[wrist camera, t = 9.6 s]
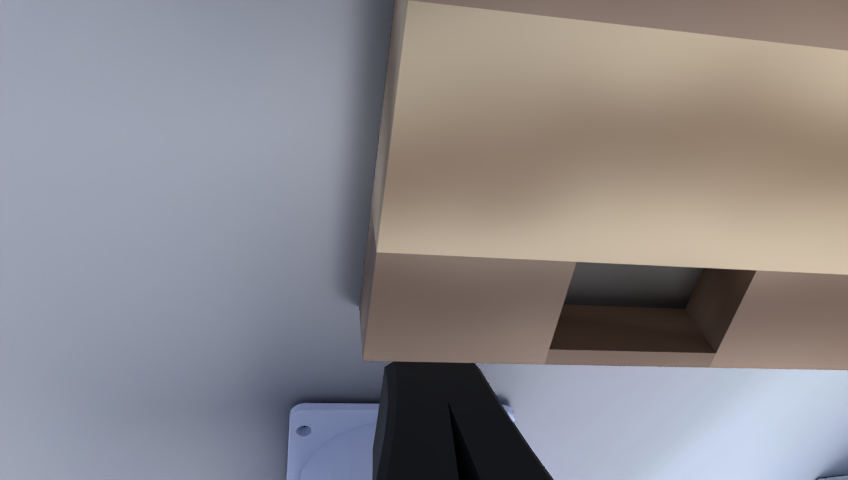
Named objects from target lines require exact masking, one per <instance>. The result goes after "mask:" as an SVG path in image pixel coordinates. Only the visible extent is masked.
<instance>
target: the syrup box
mask: <svg viewBox="0 0 848 480" xmlns="http://www.w3.org/2000/svg"><path fill="white" fill-rule="evenodd" d="M818 480H848V476H839V477H832V478H826V479H818Z"/></svg>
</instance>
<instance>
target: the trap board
mask: <svg viewBox="0 0 848 480" xmlns="http://www.w3.org/2000/svg"><path fill="white" fill-rule="evenodd" d="M359 311H360V325H361V339H362V353H363V361H399V362H452V363H500V364H553V365H605V366H658V367H711V368H763V369H816V370H848V0H395V3H394V11H393V20H392V29H391V37H390V46H389V55H388V63H387V72H386V81H385V90H384V98H383V107H382V116H381V124H380V133H379V142H378V151H377V159H376V168H375V177H374V185H373V194H372V203H371V211H370V220H369V229H368V238H367V246H366V255H365V264H364V272H363V281H362V290H361V298H360V307H359Z"/></svg>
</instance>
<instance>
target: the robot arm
mask: <svg viewBox="0 0 848 480" xmlns="http://www.w3.org/2000/svg"><path fill="white" fill-rule="evenodd" d="M514 422H515V416H514V413H513V410H512V408H511V407H509V406H507V405H502V404H501V403H500V401H499V399H498V398H497V396H496V395H495V393H494V391H493V390H492V388H491V387H490V385H489V383H488V382H487V380H486V378H485V377H484V375H483V374H482V372H481V370H480V369H479V368H478V367H477V365H476V364H475V363H452V362H399V361H393V362H392V363H390V364H389V365H387V366H386V367H385V370H384V376H383V383H382V390H381V396H380V403H379V404H357V403H302V404H298V405H296V406H294V407H293V408H292V409H291V411H290V420H289V440H288V459H287V479H286V480H553V478H552V477H551V476H550V474H549V473H548V471H547V470H546V469H545V467H544V466H543V465H542V463H541V462H540V460H539V459H538V458H537V456H536V455H535V453H534V452H533V451H532V449H531V448H530V446H529V445H528V443H527V442H526V440H525V439H524V437H523V436H522V435H521V433H520V431H519V430H518V428H517V427H516V425H515V424H514ZM300 426H308V427H304V428H303V427H300Z"/></svg>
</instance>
